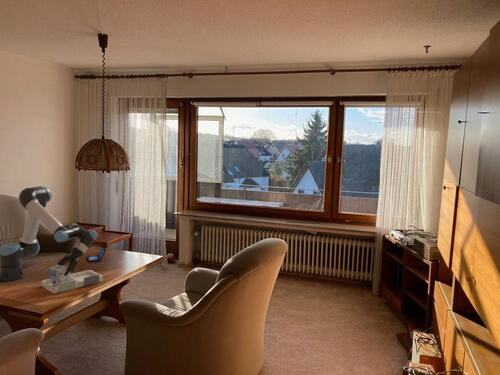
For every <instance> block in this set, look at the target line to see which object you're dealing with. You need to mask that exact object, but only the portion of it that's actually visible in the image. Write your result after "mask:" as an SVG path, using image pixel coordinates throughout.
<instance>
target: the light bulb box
mask: <svg viewBox="0 0 500 375" xmlns="http://www.w3.org/2000/svg"><path fill="white" fill-rule="evenodd" d="M68 266H69V265H63V266H62V265H58V264H56V265H53V266H51V267H49V279H50V283H51V284H58V285H59V284H60V283H64V282H68V281H70V274H71V272H69V273H68V275H67V276H66V277H65V278H64V279H63V281H62V280H61V279H59V277H60V276H61V275H62V274H63V273H64V271H65V270H66V269H67V268H68Z"/></svg>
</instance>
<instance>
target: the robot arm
mask: <svg viewBox="0 0 500 375" xmlns="http://www.w3.org/2000/svg"><path fill="white" fill-rule="evenodd" d="M52 196H53V194H52V192H51V190H50V189H49V187H47V186H43V185H42V186H40V185H39V186H34V187H33V186H32V187H26V188H24V189H22V190H21V191H20V192H19V195H18V201H19V203H20V205H21V206H22V207H23V208H24V209H25V211H28V212H27V215H26V219H25V220H26V221H25V224H24V229H23V233H22V236H21V237H20V238H19V240H18V242H10V243H6V244H3V245H2V246H0V280H2V281H1V282H10V281H11V282H12V281H16V280H21V279H22V278H24V277H25V272H24V270H23V267H22V265H21V263H22V262H21V261H22V260H25V259H27V258H31V257H33V256H36V255H37V254H38V253H39V251H40V244H39V242H38V239H37V235H38V231H39V226H40V222H41V223H42V224H43V225H44V226H45V227H46V228H47V229H48V230H49V231H51V233H53V237H54V240H55V241H56V242H57V243H63V242H67V241H69V240H72V239H78V240H79V241H78V242H76V244H75V246H73V248H72V249H71V251H70V252H71V253H66V255H65V256H64V257H62V258H61V260H59V261H57V264H56V265H62V266H66V264H68V263H69V264H68V265H67V266H68V268H67V269H66V270H65V271H64V273H63V274H62V275H61V276H60V277H59V279H61V280H62V281H63V279H64V278H65V277H66V276H67V275H68V273H69V272H70V273H72V272H74V269H75V268H76V266H77V265H78V262H79V261H80V260H81V259H80V258H82V257H83V255H84V253H85V252H87V250H88V249H89V247H91V245H92V244H93V243H94V242H95V241H96V239H97V238H98V237H99V233H98V232H96V231H95V230H93V229H92V228H90V229H88V230H87V229H86V228H84V227H82V226H80V225H79V224H77V223H74V222H73V223H71V224H70V225H69V226H68V227H67V228H66V227H65V226H64V225H63V224H62V223H61V222H60V221H59V220H58V219H57V218H56V217H55V216H54V215H52V214H51V213H50V211H48V209H46V206H47V203H49V202H50V201H51V200H52Z"/></svg>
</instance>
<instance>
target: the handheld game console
mask: <svg viewBox="0 0 500 375" xmlns="http://www.w3.org/2000/svg"><path fill="white" fill-rule="evenodd" d="M106 251H107V250H106V247H105V246H104V245H103V246H102V247H101V249H100V251H99V252H98V253H97V254H95V255H87V256H86V259H87V262H88V263H98V262H99V261H100V262H101V261H102V259H103V257H104V255H105V254H106V253H107V252H106Z"/></svg>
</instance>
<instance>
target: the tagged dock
mask: <svg viewBox="0 0 500 375" xmlns="http://www.w3.org/2000/svg"><path fill="white" fill-rule="evenodd" d="M101 282H104V275H102V274H100V273H98V272H95V271H94V270H92V269H88V270H87V269H86V270H83V271H78V272H74V273H70V281H68V282H64V283H60V284H59V285H58V284H51V283H50V278H48V279H44V280H41V287H43V288H44V289H46V290H47V291H49V292H50V293H52V294H58V293H64V292H66V291H67V292H68V291H72V290H75V289H77V288H81V287H87V286H91V285H95V284H98V283H101Z"/></svg>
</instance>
